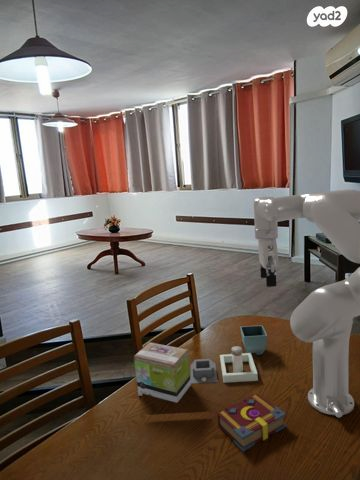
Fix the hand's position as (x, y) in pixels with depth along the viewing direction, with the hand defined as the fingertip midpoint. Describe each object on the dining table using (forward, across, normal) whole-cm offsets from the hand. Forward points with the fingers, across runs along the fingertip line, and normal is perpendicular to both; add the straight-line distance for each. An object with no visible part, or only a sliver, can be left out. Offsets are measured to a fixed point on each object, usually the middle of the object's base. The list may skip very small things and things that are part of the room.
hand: (268, 281), depth 122 cm
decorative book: (+31, -32, +12) cm, 46 cm away
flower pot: (+31, +7, +5) cm, 32 cm away
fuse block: (+30, -7, +25) cm, 40 cm away
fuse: (+29, -7, +13) cm, 33 cm away
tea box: (+31, -15, +38) cm, 51 cm away
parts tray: (+30, -7, +13) cm, 34 cm away
